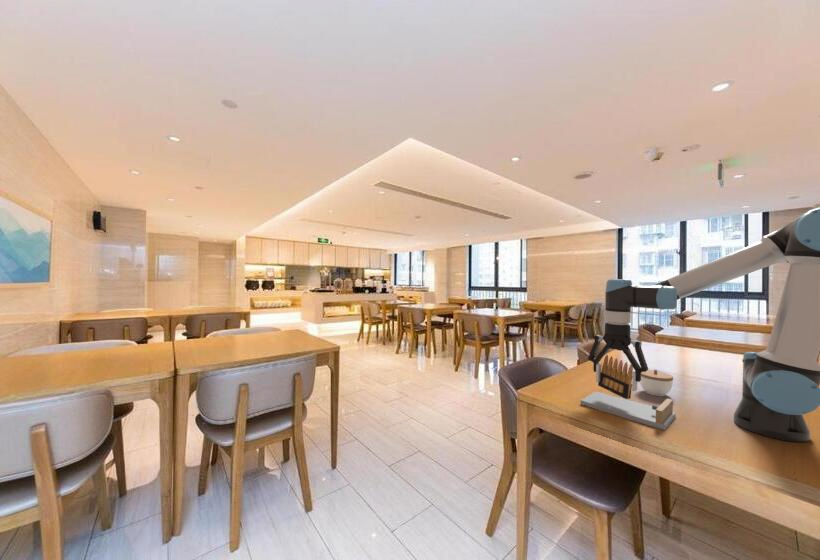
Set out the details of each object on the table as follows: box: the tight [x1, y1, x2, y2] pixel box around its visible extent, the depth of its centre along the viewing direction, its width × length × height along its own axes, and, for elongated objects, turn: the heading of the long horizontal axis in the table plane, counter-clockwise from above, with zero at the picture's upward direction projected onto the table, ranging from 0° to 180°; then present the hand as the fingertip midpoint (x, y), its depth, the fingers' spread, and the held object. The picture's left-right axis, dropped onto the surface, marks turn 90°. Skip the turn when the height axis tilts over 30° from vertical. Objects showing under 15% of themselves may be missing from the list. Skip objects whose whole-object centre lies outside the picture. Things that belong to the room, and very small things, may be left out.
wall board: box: [580, 391, 676, 431], centre depth 107 cm, size 24×14×6 cm, turn 39°
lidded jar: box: [639, 369, 674, 397], centre depth 124 cm, size 11×11×9 cm
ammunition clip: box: [597, 354, 634, 400], centre depth 110 cm, size 11×2×12 cm, turn 21°
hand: (615, 385), depth 110 cm, fingers closed on ammunition clip, 10 cm apart
